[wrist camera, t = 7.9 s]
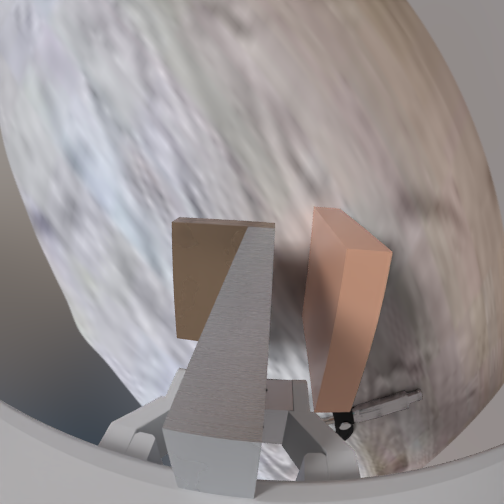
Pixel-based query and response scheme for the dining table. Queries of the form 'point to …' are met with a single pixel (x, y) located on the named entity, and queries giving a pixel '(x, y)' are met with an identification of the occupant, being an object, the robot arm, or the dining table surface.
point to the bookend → (220, 353)
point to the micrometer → (371, 411)
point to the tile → (341, 305)
